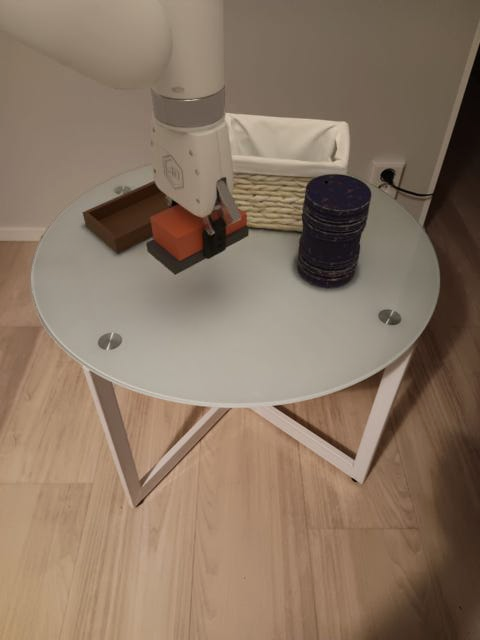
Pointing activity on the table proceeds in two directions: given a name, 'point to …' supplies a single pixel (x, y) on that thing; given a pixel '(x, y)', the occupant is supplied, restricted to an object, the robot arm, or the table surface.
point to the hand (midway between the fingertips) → (198, 239)
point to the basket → (282, 164)
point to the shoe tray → (126, 217)
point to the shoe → (186, 237)
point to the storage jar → (332, 229)
